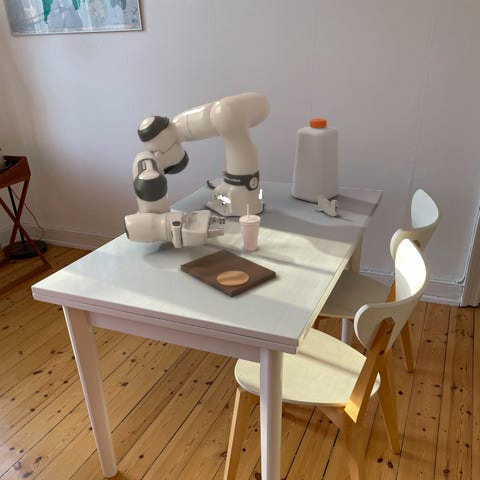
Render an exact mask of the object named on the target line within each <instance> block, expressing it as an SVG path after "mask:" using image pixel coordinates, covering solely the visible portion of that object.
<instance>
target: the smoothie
mask: <svg viewBox="0 0 480 480" xmlns="http://www.w3.org/2000/svg"><path fill="white" fill-rule="evenodd" d="M238 222H239V224H240V230H241V236H242V242H243V249H244V250H245V251H246V252H255V251H257V248H258V239H259V233H260V232H259V230H260V224H261V222H262V220H261V216H258V215H257V214H255V215H249V204H247V215H245V216H239V219H238Z"/></svg>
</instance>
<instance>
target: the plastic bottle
mask: <svg viewBox="0 0 480 480" xmlns="http://www.w3.org/2000/svg"><path fill="white" fill-rule="evenodd" d="M296 133H297V134H296V143H295V144H296V145H295V152H294V153H295V155H294V165H293V175H292V184H291V185H292V186H291V195H292V197H293V198H294V199H297V200H302V201H306V202H309V203H310V202H311V203H317V204H318V196H319V195H323V196H324V197H325V199H327V200H328V201H329V200H330V199H333V198H335V197H337V196H338V194H339V130H338V128H337V127H334V126H329V125H328V121H327V119H325V118H312V119H310V120H309V125H308V126H305V127H302V128H299V129H298V131H297V132H296Z"/></svg>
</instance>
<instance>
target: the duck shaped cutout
mask: <svg viewBox="0 0 480 480" xmlns="http://www.w3.org/2000/svg"><path fill="white" fill-rule="evenodd" d="M317 212H323V213H325V214H326V215H328V216H330V217H338V216H339V215H340V212H339V201H338V200H337V199H332V200H331V201H330V200H329V199H328V200H327V199H325V197H324V196H323V195H319V196H318V203H317Z"/></svg>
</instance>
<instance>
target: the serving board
mask: <svg viewBox="0 0 480 480" xmlns="http://www.w3.org/2000/svg"><path fill="white" fill-rule="evenodd" d="M180 271H182V272H184V273H186V274H187V275H189V276H191V277H193V278H195V279H197V280H198V281H201V282H202V283H204V284H206V285H208V286H209V287H212V288H214V289H215V290H217V291H219V292H221V293H223V294H225V295H227V296H229V297H231V298H232V297H234V296H236V295H239V294H241V293H243V292H246V291H247V290H250V289H252V288H255V287H257V286H259V285H261V284H263V283H265V282H268V281H271V280H273V279H275V278H276V277H277V272H276V271H274V270H272V269H270V268H268V267H265V266H263V265H261V264H259V263H256V262H254V261H252V260H250V259H247V258H245V257H243V256H241V255H238V254H236V253H234V252H231V251H229V250H227V249H225V248H223V249H220V250H218V251H215V252H212V253H210V254H207V255H204V256H201V257H199V258H196V259H194V260H191V261H188V262H185V263H182V264H180Z"/></svg>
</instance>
